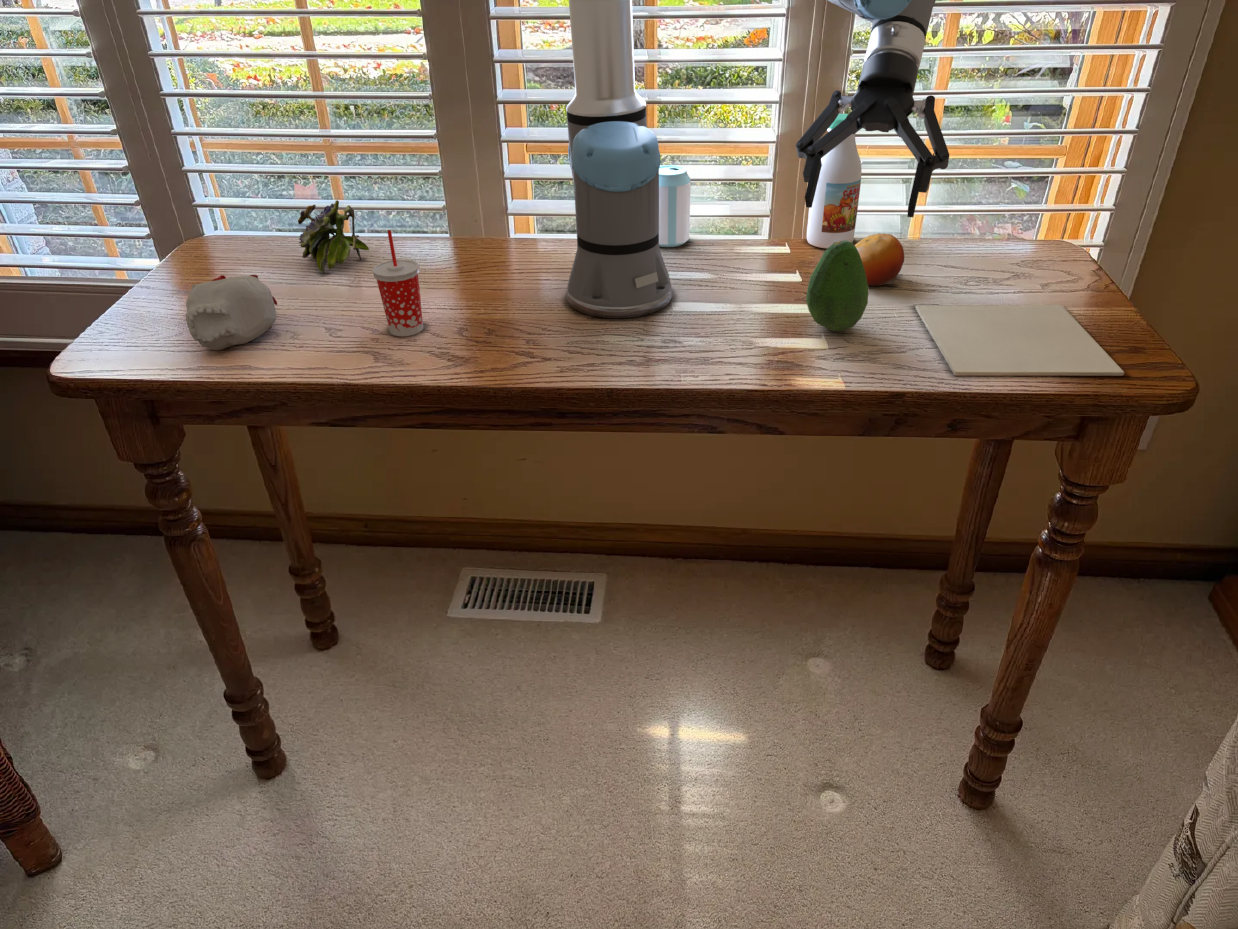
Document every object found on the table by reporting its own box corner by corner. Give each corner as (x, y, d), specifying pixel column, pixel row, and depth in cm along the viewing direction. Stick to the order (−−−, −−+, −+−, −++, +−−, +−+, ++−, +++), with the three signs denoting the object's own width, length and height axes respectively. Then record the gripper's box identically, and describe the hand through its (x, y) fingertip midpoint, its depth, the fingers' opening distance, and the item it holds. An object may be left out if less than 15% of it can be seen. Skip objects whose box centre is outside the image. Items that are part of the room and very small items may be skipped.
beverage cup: (428, 336, 118) (412, 236, 110) (382, 340, 117) (363, 239, 109) (429, 317, 123) (413, 220, 115) (385, 321, 122) (366, 224, 114)
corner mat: (954, 375, 105) (955, 372, 105) (915, 308, 122) (915, 305, 121) (1123, 375, 104) (1124, 372, 104) (1060, 307, 120) (1061, 304, 120)
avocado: (843, 312, 121) (854, 228, 114) (874, 335, 115) (887, 248, 108) (792, 321, 119) (800, 236, 112) (820, 345, 113) (831, 256, 106)
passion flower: (324, 289, 146) (312, 220, 147) (385, 276, 145) (372, 206, 146) (292, 274, 135) (279, 199, 135) (357, 260, 134) (344, 185, 134)
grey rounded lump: (198, 363, 111) (199, 331, 124) (288, 345, 115) (281, 316, 127) (175, 295, 107) (179, 269, 120) (270, 279, 111) (264, 255, 123)
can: (645, 235, 149) (645, 164, 142) (686, 233, 150) (687, 162, 143) (650, 249, 143) (649, 176, 137) (692, 247, 144) (693, 174, 137)
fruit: (917, 283, 125) (894, 235, 122) (865, 306, 129) (842, 261, 126) (912, 262, 132) (891, 217, 129) (863, 285, 135) (841, 241, 132)
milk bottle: (801, 247, 143) (813, 120, 132) (811, 232, 149) (823, 109, 137) (848, 252, 140) (865, 123, 129) (856, 236, 146) (873, 112, 135)
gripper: (798, 45, 120) (764, 184, 117) (990, 52, 112) (958, 202, 109) (803, 79, 127) (770, 211, 124) (983, 88, 119) (953, 230, 116)
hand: (858, 207), depth 116 cm, fingers open, 13 cm apart
